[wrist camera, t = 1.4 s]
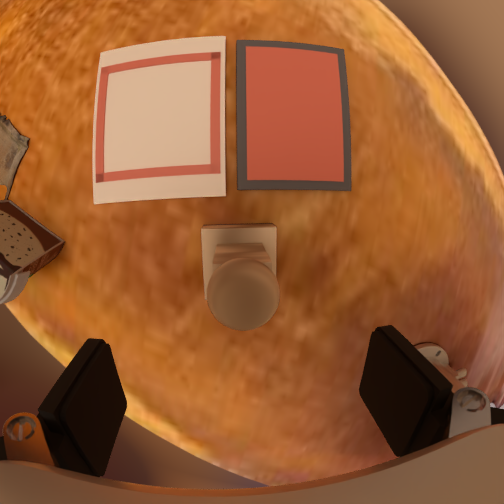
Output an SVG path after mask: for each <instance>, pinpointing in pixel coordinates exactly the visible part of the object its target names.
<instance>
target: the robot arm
mask: <svg viewBox="0 0 504 504" xmlns="http://www.w3.org/2000/svg"><path fill="white" fill-rule="evenodd" d="M466 374H467V371H466V369H465V368H461V369H459V370H456V371H454V370H453V369H452V368H451V367H450V366H449V360H448V355H447V353H446V352H445V351H444V350H443V349H442V348H441V347H440V346H438V345H437V344H433V343H424V344H419V345H416V346H413V345H412V344H411V343H410V342H409V341H408V340H407V339H406V338H405V337H404V336H403V335H402V334H401V333H400V332H399V331H398V330H396V329H395V328H394V327H393V326H392V325H388V326H381V327H377V328H376V329H375V331H374V332H372V334H371V337H370V342H369V347H368V352H367V357H366V362H365V366H364V371H363V375H362V379H361V383H360V388H359V392H360V396H361V398H362V399H363V401H364V403H365V404H366V406H367V408H368V410H369V411H370V413H371V415H372V416H373V418H374V420H375V421H376V423H377V425H378V427H379V428H380V430H381V432H382V433H383V435H384V437H385V439H386V440H387V442H388V444H389V445H390V447H391V449H392V451H393V452H394V454H395V455H396V456H397V457H399V456H400V457H399V458H396V459H394V460H391V461H388V462H385V463H382V464H378V465H375V466H372V467H368V468H365V469H361V470H358V471H354V472H350V473H346V474H342V475H337V476H333V477H328V478H323V479H318V480H313V481H307V482H301V483H294V484H287V485H279V486H270V487H260V488H245V489H181V488H167V487H157V486H148V485H140V484H133V483H127V482H121V481H115V480H110V479H105V478H100V476H103V475H104V474H105V471H106V468H107V464H108V461H109V458H110V455H111V452H112V449H113V446H114V443H115V440H116V437H117V434H118V431H119V428H120V425H121V422H122V420H123V416H124V414H125V411H126V408H127V401H126V397H125V394H124V391H123V388H122V385H121V382H120V379H119V376H118V373H117V369H116V366H115V362H114V359H113V355H112V352H111V348H110V345H109V344H106V342H105V341H104V340H103V339H91V338H89V339H87V341H86V342H85V343H84V345H83V346H82V347H81V349H80V350H79V351H78V353H77V354H76V355H75V357H74V358H73V359H72V361H71V362H70V363H69V365H68V366H67V368H66V369H65V370H64V372H63V373H62V375H61V376H60V377H59V379H58V380H57V382H56V383H55V385H54V386H53V388H52V389H51V391H50V392H49V393H48V395H47V396H46V398H45V399H44V401H43V402H42V404H41V405H40V407H39V408H38V411H39V414H38V415H37V417H36V416H35V415H33V414H30V413H18V414H16V415H13V416H12V417H11V418H9V419H8V420H7V421H6V422H5V424H4V427H3V436H2V437H0V504H504V409H499V408H493V407H490V401H489V398H488V397H487V395H486V394H485V393H484V392H482V391H481V390H479V389H476V388H472V387H467V380H466V379H465V378H462V377H465V376H466ZM460 378H461V379H460ZM458 379H459V380H458Z"/></svg>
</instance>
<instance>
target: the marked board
mask: <svg viewBox="0 0 504 504" xmlns="http://www.w3.org/2000/svg"><path fill="white" fill-rule="evenodd" d="M225 51H226V36H211V37H195V38H183V39H174V40H166V41H158V42H151V43H145V44H139V45H134V46H129V47H124V48H119V49H114V50H110V51H106V52H102V53H101V55H100V61H99V68H98V76H97V85H96V95H95V107H94V124H93V195H94V204H102V203H113V202H125V201H138V200H153V199H170V198H189V197H215V196H226V169H225Z"/></svg>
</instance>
